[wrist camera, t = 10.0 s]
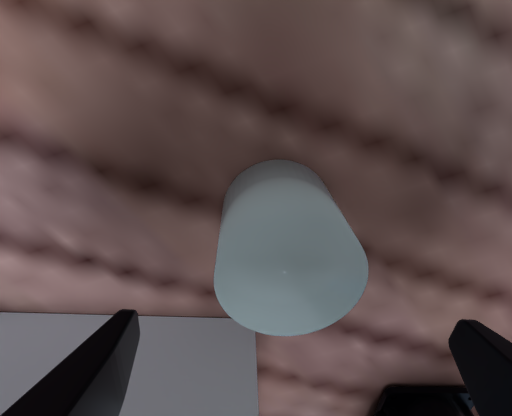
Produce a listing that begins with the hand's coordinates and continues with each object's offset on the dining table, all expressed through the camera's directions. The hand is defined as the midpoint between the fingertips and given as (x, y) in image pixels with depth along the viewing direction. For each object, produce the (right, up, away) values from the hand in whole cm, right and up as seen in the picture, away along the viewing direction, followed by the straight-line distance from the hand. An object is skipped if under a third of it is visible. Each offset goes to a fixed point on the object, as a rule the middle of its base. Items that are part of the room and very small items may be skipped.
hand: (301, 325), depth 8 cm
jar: (0, +3, +6) cm, 7 cm away
